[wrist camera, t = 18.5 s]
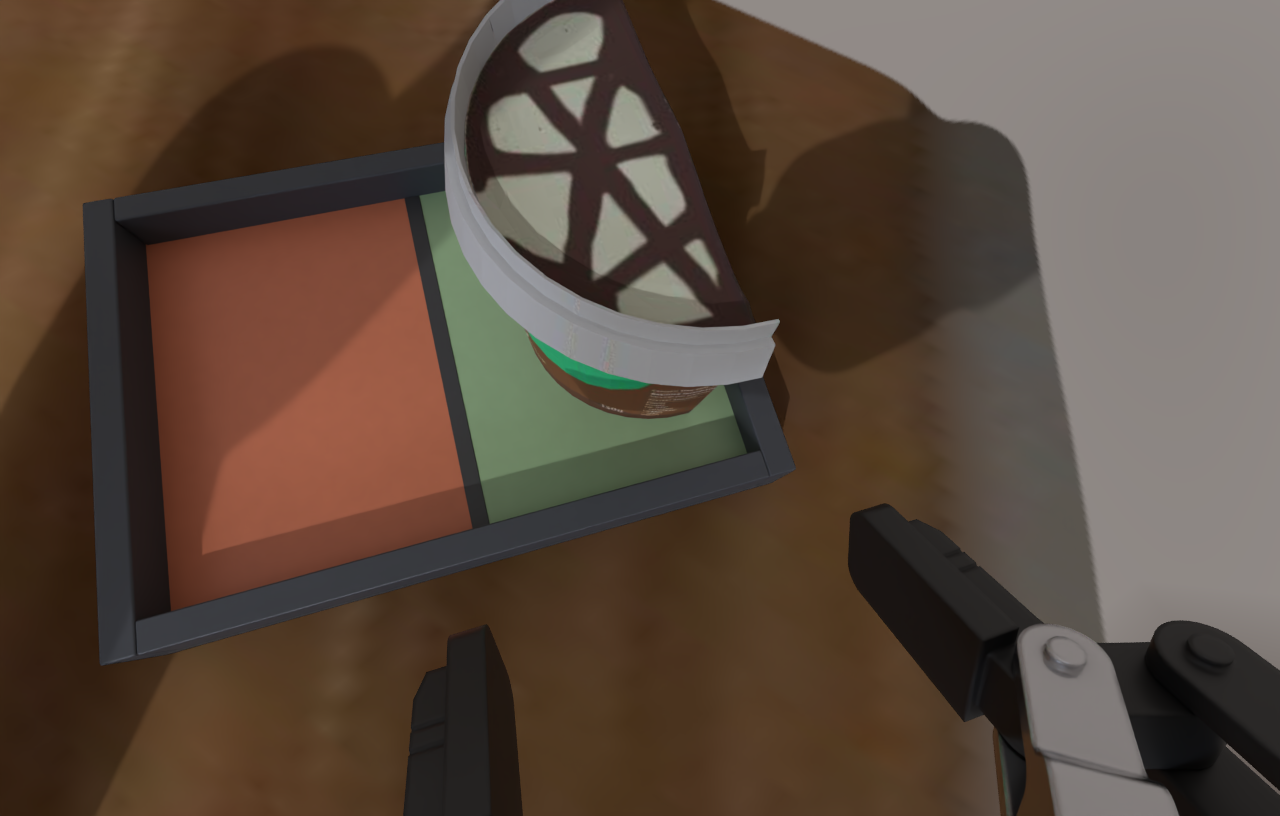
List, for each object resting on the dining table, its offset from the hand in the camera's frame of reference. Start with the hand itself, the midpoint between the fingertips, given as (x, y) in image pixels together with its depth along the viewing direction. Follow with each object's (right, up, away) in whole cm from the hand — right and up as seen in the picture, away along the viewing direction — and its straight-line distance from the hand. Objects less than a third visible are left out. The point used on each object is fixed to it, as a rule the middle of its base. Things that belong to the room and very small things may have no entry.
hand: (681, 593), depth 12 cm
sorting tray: (-8, +6, +11) cm, 15 cm away
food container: (-3, +7, +11) cm, 13 cm away
